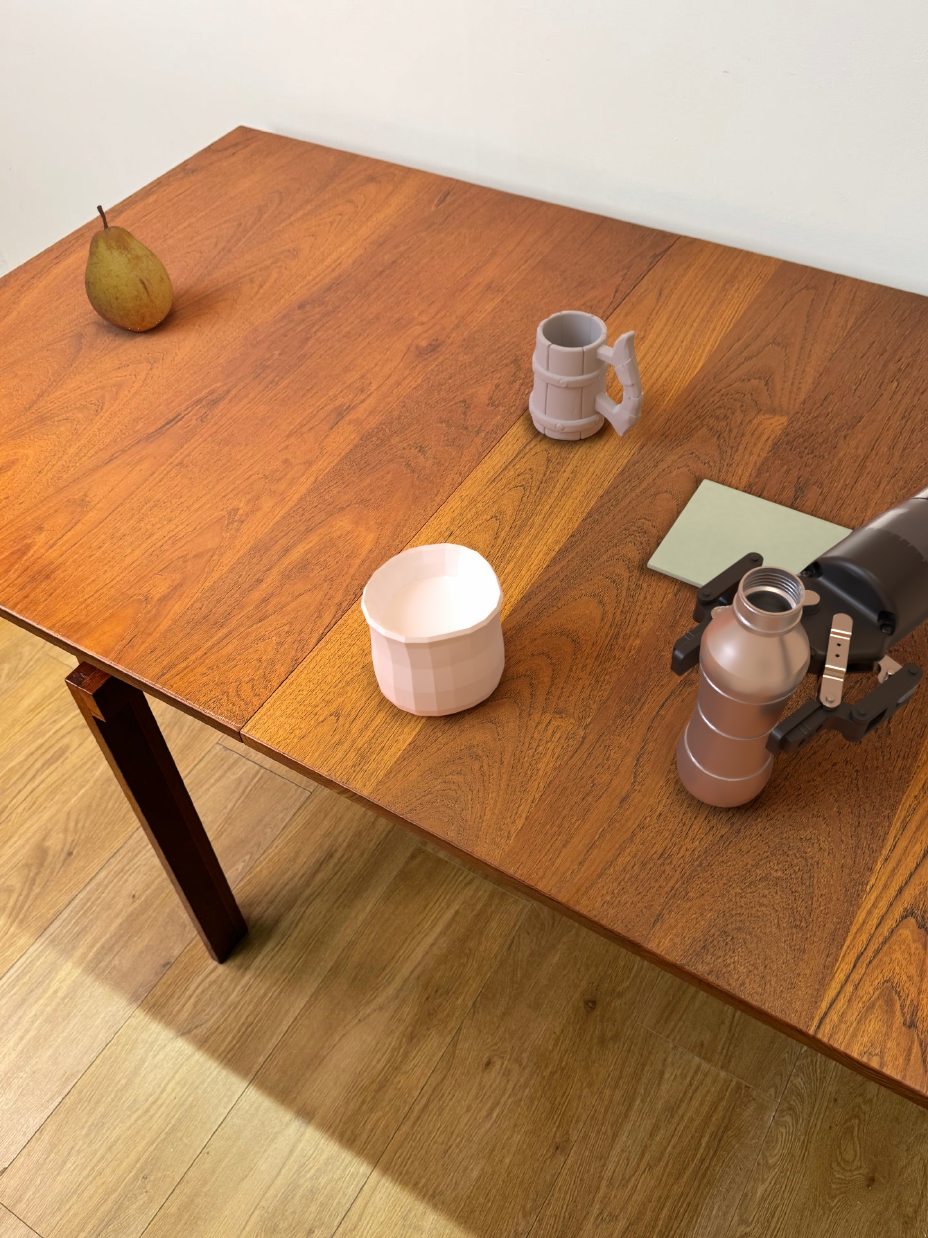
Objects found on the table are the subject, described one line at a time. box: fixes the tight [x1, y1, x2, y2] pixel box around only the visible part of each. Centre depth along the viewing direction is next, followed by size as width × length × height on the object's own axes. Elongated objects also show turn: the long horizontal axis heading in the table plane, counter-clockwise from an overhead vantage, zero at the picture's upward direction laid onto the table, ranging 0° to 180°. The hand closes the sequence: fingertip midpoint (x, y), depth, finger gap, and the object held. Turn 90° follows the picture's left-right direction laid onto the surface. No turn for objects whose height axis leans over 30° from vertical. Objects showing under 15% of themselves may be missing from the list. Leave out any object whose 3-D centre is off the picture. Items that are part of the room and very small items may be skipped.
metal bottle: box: [675, 566, 810, 808], centre depth 63 cm, size 6×7×20 cm
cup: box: [360, 542, 506, 717], centre depth 74 cm, size 10×10×10 cm
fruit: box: [84, 204, 174, 333], centre depth 107 cm, size 9×9×12 cm
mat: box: [646, 478, 854, 589], centre depth 84 cm, size 14×12×1 cm
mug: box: [528, 310, 645, 441], centre depth 91 cm, size 8×12×12 cm, turn 49°
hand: (721, 703), depth 61 cm, fingers open, 7 cm apart
